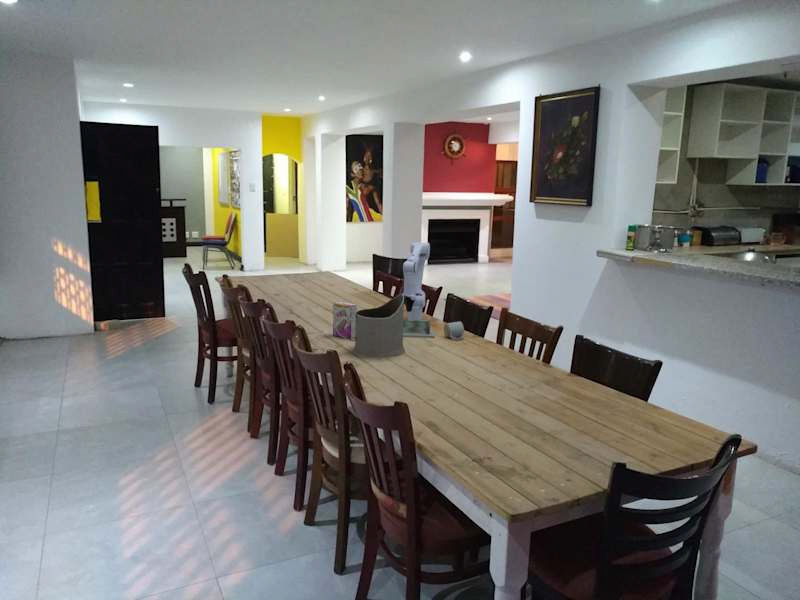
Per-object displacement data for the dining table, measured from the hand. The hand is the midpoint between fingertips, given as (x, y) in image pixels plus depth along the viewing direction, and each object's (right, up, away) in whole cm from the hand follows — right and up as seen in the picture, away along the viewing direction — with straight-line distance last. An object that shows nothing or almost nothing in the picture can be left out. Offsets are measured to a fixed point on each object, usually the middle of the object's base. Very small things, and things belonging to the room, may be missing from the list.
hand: (408, 311), depth 310 cm
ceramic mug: (+22, -13, -11) cm, 28 cm away
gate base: (+2, -12, -8) cm, 14 cm away
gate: (+3, -10, -7) cm, 13 cm away
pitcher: (-18, -17, -39) cm, 46 cm away
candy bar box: (-31, -12, -14) cm, 36 cm away
